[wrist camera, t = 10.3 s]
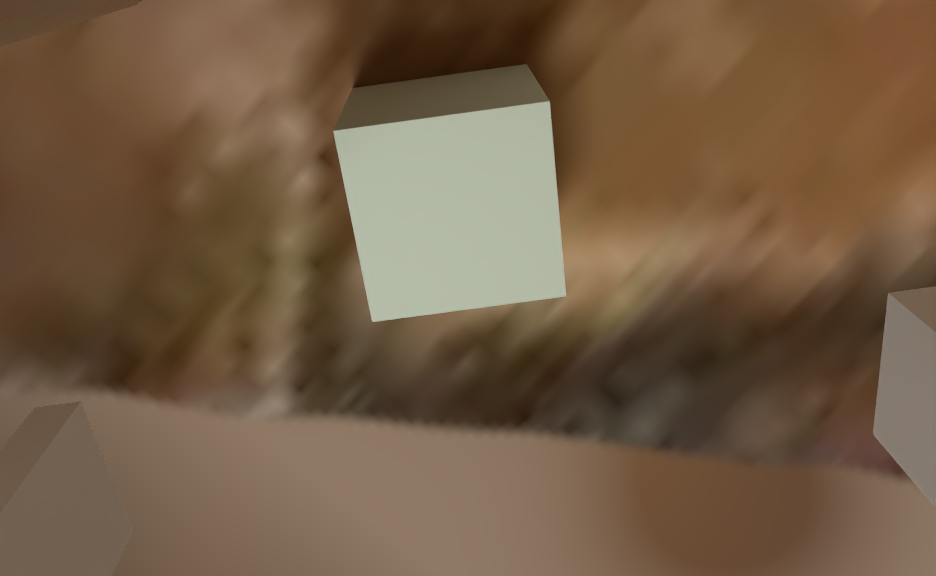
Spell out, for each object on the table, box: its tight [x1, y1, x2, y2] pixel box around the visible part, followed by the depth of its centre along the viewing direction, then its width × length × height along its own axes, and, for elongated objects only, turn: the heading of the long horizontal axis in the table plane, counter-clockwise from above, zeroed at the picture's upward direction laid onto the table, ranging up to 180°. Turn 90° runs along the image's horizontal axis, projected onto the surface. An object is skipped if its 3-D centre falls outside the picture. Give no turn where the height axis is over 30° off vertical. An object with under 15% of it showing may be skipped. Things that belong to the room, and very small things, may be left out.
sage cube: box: [333, 64, 566, 322], centre depth 26 cm, size 6×6×6 cm
